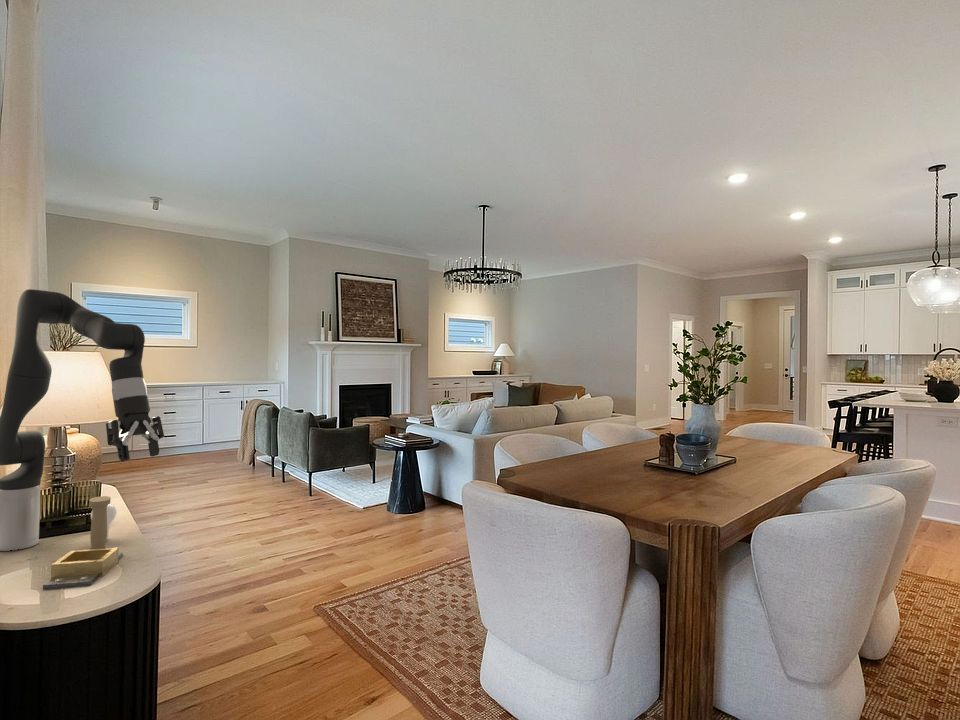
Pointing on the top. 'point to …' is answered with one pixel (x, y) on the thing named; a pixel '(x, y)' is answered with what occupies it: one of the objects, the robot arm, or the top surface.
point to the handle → (99, 521)
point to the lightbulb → (109, 516)
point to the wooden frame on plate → (82, 567)
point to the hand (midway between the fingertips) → (140, 458)
